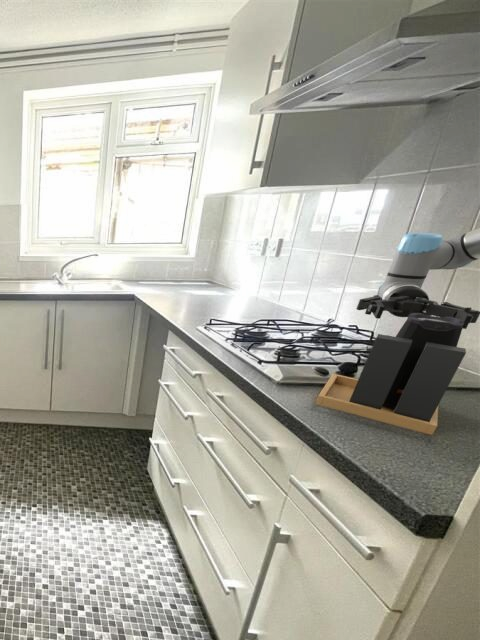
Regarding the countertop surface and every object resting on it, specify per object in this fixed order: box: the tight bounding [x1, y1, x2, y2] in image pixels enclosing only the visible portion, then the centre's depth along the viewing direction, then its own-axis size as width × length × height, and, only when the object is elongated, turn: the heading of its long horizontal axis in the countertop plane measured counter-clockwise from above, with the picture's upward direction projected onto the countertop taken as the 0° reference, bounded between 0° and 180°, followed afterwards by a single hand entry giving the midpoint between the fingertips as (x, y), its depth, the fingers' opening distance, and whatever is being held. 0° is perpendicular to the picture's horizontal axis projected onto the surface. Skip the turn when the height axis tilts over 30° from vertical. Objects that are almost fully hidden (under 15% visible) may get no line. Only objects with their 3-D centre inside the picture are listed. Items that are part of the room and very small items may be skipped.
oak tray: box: [315, 373, 439, 436], centre depth 90 cm, size 18×18×3 cm
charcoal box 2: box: [393, 342, 467, 422], centre depth 80 cm, size 5×3×16 cm, turn 43°
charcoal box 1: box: [349, 333, 412, 410], centre depth 85 cm, size 5×3×16 cm, turn 43°
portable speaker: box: [383, 313, 464, 407], centre depth 86 cm, size 9×9×20 cm
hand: (421, 317), depth 91 cm, fingers open, 13 cm apart
